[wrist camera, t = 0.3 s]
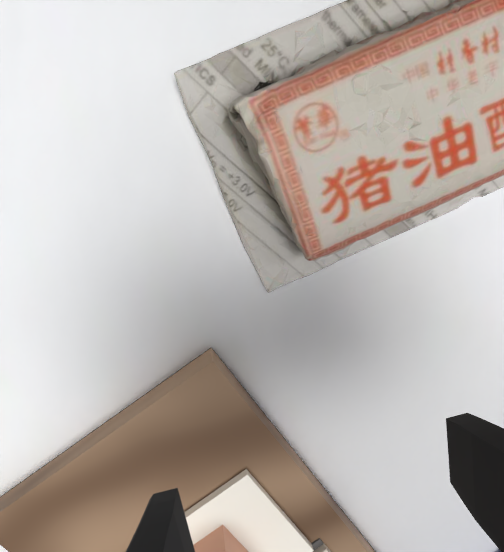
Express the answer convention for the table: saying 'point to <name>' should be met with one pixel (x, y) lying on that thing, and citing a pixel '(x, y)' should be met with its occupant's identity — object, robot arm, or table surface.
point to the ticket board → (168, 470)
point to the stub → (243, 521)
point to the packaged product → (352, 126)
